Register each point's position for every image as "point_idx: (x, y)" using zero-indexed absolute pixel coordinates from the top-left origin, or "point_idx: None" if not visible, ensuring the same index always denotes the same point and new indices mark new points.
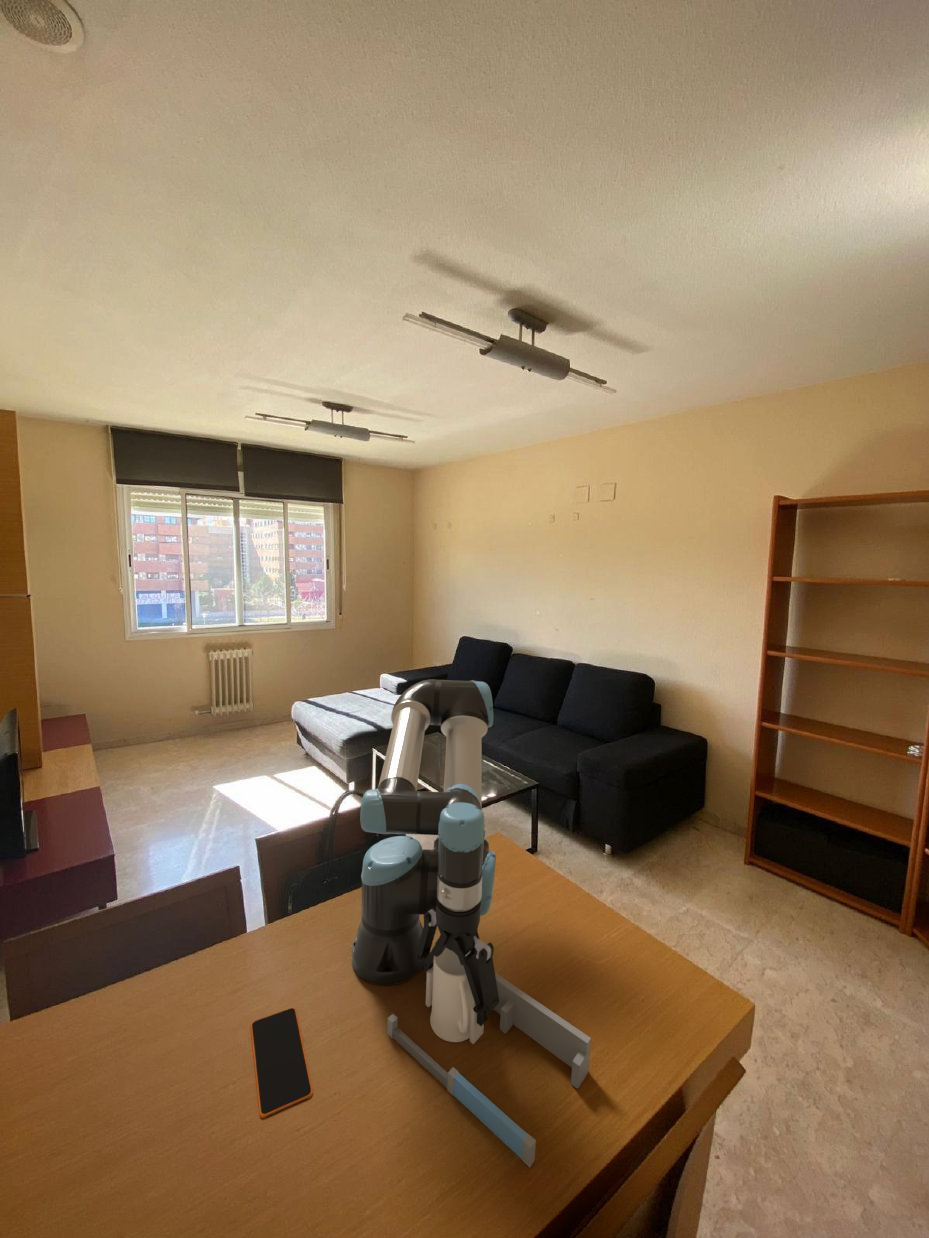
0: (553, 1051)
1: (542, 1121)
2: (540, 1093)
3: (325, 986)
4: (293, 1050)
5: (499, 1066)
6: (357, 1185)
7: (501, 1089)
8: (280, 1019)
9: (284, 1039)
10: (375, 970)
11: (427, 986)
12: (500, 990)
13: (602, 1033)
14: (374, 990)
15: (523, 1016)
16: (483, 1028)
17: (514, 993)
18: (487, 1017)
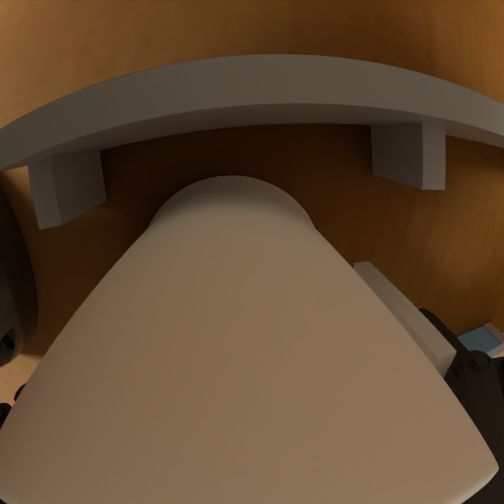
0: (490, 144)
1: (495, 277)
2: (489, 242)
3: (19, 387)
4: None
5: (420, 265)
6: None
7: (438, 297)
8: None
9: None
10: (8, 362)
11: None
12: (387, 115)
13: (499, 41)
14: (40, 350)
15: (456, 132)
16: (377, 269)
17: (477, 127)
18: (437, 318)
